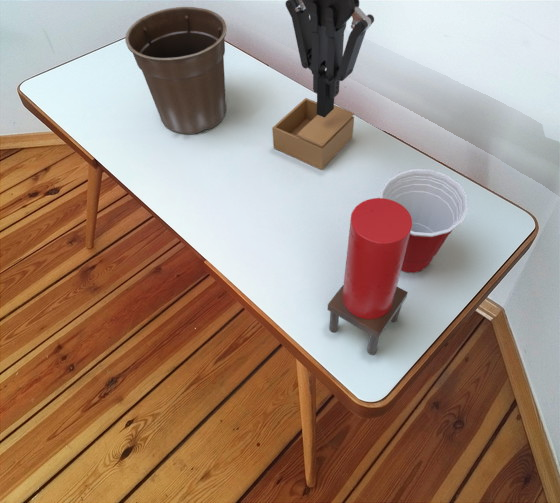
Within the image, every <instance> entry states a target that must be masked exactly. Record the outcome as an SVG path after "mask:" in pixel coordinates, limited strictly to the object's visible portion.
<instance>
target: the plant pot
mask: <svg viewBox="0 0 560 503" xmlns="http://www.w3.org/2000/svg"><path fill="white" fill-rule="evenodd" d="M227 28H228V27H227V24H226V20H225V19H224V18H223V16H221V15H220V14H218V13H217V12H215V11H213V10H210V9H207V8H203V7H197V6H196V7H195V6H177V7H169V8H165V9H160V10H157V11H154V12H151V13H148V14H147V15H145V16H142V17H141V18H138V20H136V21H134V23H132V25H130V27H129V28H128V29H127V31H126V33H125V37H124V41H125V46H126V47H127V49H128V50H129V51H130V53H132V55H133V58H134V60H135V62H136V64H137V67H138V69H139V70H140V71H141V72H142V75H143V77H144V80H145V82H146V85H147V87H148V90H149V92H150V94H151V95H150V96H151V97H152V100H153V103H154V105H155V107H156V110H157V113H158V116H159V118H160V120H161V122H162V124H163V125H164V127H165V128H166V129H168V130H170V131H172V132H174V133H178V134H184V135H185V134H186V135H192V134H193V135H194V134H199V133H202V131H204V130H207V129H208V130H211V129H213V128H215V127H216V126H217V125H219V124H220V123H221V122H222V121H223V119H224V118H225V117H226V114H227V97H226V81H225V80H226V76H225V59H224V58H225V57H224V56H225V53H226V41H225V37H226V35H227V31H228V30H227Z"/></svg>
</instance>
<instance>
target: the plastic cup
mask: <svg viewBox="0 0 560 503" xmlns="http://www.w3.org/2000/svg"><path fill="white" fill-rule="evenodd" d="M379 198H384V199H389V200H393V201H395V202H397V203H399V204H401V205H402V206H403V207H405V208H406V209H407V210H408V212H409V213H410V215H411V218H412V228H411V232H410V236H409V240H408V244H407V248H406V252H405V256H404V260H403V264H402V268H401V272H404V273H412V274H414V273H419V272H422V271H423V270H424V269H426V268H427V267H428V266H429V265H430V263H431V262H432V260H433V259H434V257H435V256H436V255H437V254H438V252H439V250H440V249H441V248H442V246H443V244H444V243H445V241H446V239H447V238H448V236H449V235H450V234H451V233H452V232H453V230H455V229H456V228H458V227H459V226H461V224H462V223H463V221H464V219H465V217H467V214H468V212H469V197H468V195H467V193H466V192H465V190H464V188H463V187H462V184H460V183H459V182H457V181H456V180H455V179H453V178H452V177H451V176H449V175H448V174H445V173H442V172H439V171H436V170H433V169H427V168H426V169H424V168H413V169H408V170H405V171H401V172H398V173H396V174H395V175H393V176H391V177H390V178H389V179H387V180H386V181H385V182H384V185H383V186H382V187H381V189H380V191H379Z"/></svg>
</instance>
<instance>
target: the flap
mask: <svg viewBox="0 0 560 503" xmlns="http://www.w3.org/2000/svg"><path fill="white" fill-rule="evenodd" d="M354 115H355V113H354V112H353V111H350V110H347V109H346V108H342V107H341V106H338V105H336V104H334V109H333V110H332V111H331V112H330V113H329V114H328V115H327V116H326V117H325V118H324V117H322V116H319V115H317V116H316V117H315V118H314V119H313V120H312V121H310V122H309V123H308V124H307V125H306V126H305V127H304V128H303V129H302V130H301V131H300V132H299V133H298V134H297V136H299V137H301V138H304V139H306V140H308V141H310V142H312V143H315V144H317V145H319V146H321V147H322V146H323V145H324V144H325V143H326V142H327V141H328V140H329V139H330V138H331V137H332V136H333V135H334V134H335V133H336V132H337V131H338V130H339V129H340V128H341V127H342V126H343V125H344V124H345V123H346V122H347V121H348V120H349V119H350V118H351V117H352V116H353V117H354Z"/></svg>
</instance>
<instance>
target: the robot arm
mask: <svg viewBox="0 0 560 503" xmlns="http://www.w3.org/2000/svg"><path fill="white" fill-rule="evenodd" d="M285 7H286V9H287V12H288V14H289V16H290V18H291V22H292V27H293V30H294V35H295V40H296V45H297V49H298V55H299V59H300V63H301V67H302V68H303V69H309V71H311V74H312V79H313V80H312V90H313V93H315V94H316V102H317V115H319V116H322V117H324V118H325V117H326V116H327V115H328V114H329V113H330V112H331V111H332V110H333V109H334V105H335V98H336V97H337V96H338V95H339V93H340V82H343V81H345V79H347V78H348V77H349V76H350V75H351V74H352V73H353V71H354V68H355V65H356V62H357V59H358V56H359V53H360V50H361V47H362V44H363V42H364V38H365V36H366V33H367V30H369V28H370V27H371V26H372V25H373V23H374V22H375V17H374V15H373V14H371V13H370V14H365V12H364V11H363V10H362V9H361V8H360V0H286V1H285ZM351 18H352V21H351V25H350V28H351V29H352V30H351V31H350V33H349V35H348V38H347V41H346V45H345V48H344V40H345V31H346V28H347V22H348V21H349V20H350V19H351Z"/></svg>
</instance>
